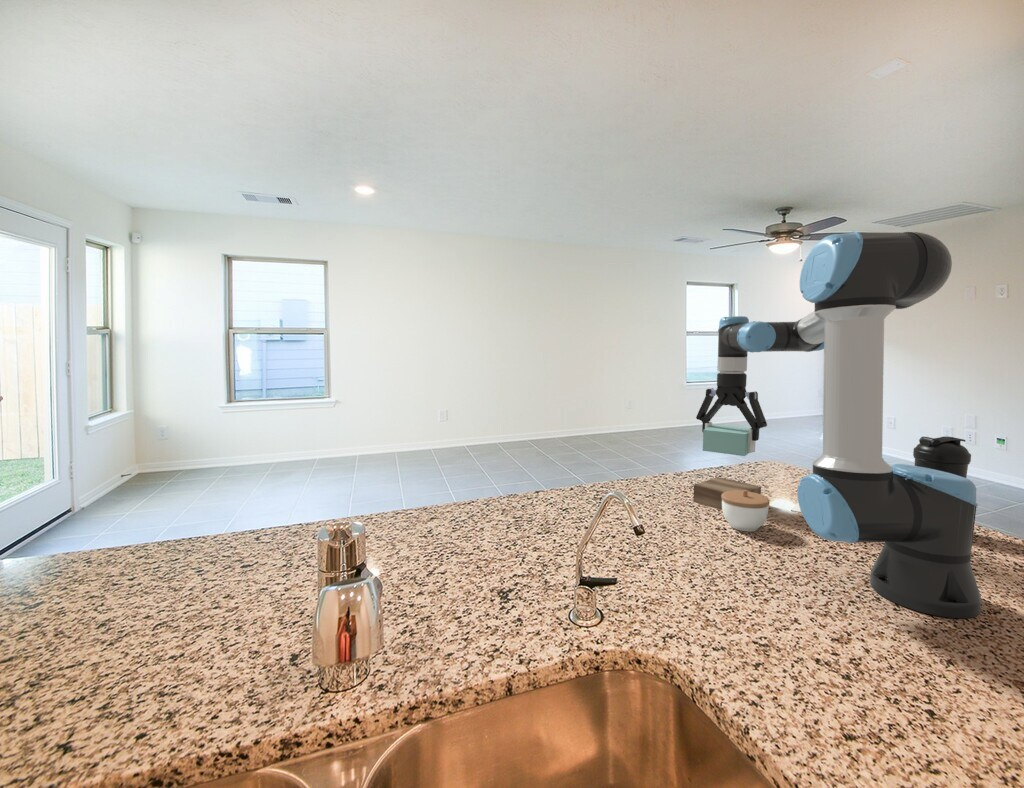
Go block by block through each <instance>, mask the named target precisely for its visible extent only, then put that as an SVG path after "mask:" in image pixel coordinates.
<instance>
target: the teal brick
mask: <svg viewBox="0 0 1024 788" xmlns="http://www.w3.org/2000/svg"><path fill="white" fill-rule="evenodd" d="M748 429H751V427H744V426H735V425H723V424H712V426H711V427H709V428H706V429H704V430H703V432H702V452H708V453H709V452H710V453H716V454H717V453H719V454H724V455H734V456H740V457H746V456H747V455H749V453H748V452H747V451H748Z"/></svg>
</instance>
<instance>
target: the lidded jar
mask: <svg viewBox="0 0 1024 788" xmlns="http://www.w3.org/2000/svg"><path fill="white" fill-rule="evenodd" d="M721 498H722V509H721V510H722V515H723V517H724V519H725V520H726V521H727V523H728V524H729V526H730V527H731V528H732V529H735V530H737V531H741V532H756V531H757V530H758V529H759V528H760V527H762V526H763V525H764V524H765V523H766V520H767V519H768V514H769V508H770V507H769V506H770V499H769V497H767V496H765V495H763V494H762V493H761V494H758V493H754V492H749V491H747V490H743V491H738V490H735V491H726V492H723V493H722V495H721Z"/></svg>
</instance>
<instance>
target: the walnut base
mask: <svg viewBox="0 0 1024 788" xmlns="http://www.w3.org/2000/svg"><path fill="white" fill-rule="evenodd" d="M735 490H738V491H743V490H747V491H749V492H754V493H758V494H761V495H762V486H760V485H755V484H751V483H747V482H743V481H737V480H733V479H729V478H725V477H720V476H716V477H714V478H710V479H707V480H704V481H701V482H697V483H695V484H693V496H692V497H693V498H692V499H693V500H692V502H694V503H697V504H700V505H705V506H708V507H710V508H715V509H718V510H722V498H721V495H722V493H723V492H726V491H735Z"/></svg>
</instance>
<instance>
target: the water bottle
mask: <svg viewBox="0 0 1024 788" xmlns="http://www.w3.org/2000/svg"><path fill="white" fill-rule="evenodd" d="M918 441H919V443H918V444H917V445H916V446H915V447H913V452H912V455H913V458H914V466H919V467H924V468H930V469H934V470H939V471H943V472H947V473H951V474H955V475H958V476H961V477H964V478H966V479H967V475H968V468H969V465H970V464H971V462H972V461H971V460H972V454H971V453H970V451H969V450H968V448H966V447H965V446H964V445H962V444H961V443H962V442H967V441H966V439H964V438H960V437H954V436H940V437H929V436H921V437H920V438H919V439H918Z"/></svg>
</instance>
